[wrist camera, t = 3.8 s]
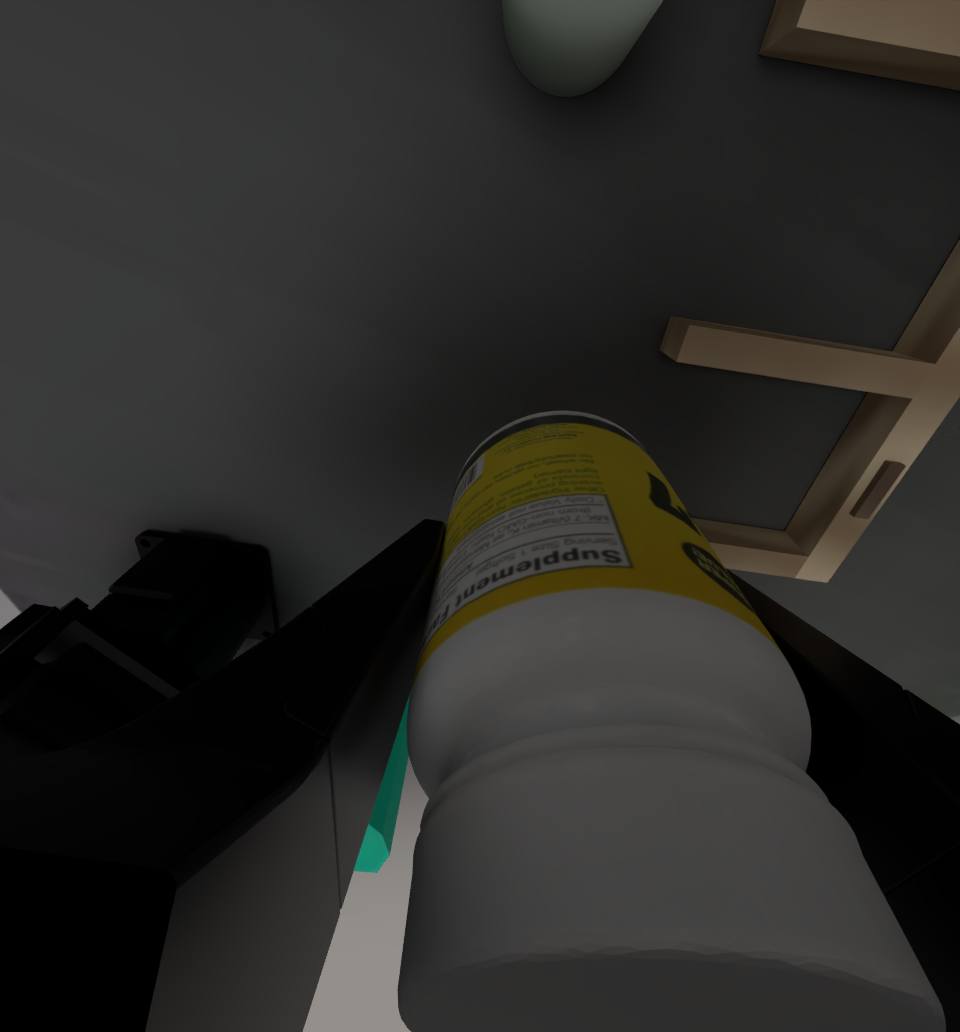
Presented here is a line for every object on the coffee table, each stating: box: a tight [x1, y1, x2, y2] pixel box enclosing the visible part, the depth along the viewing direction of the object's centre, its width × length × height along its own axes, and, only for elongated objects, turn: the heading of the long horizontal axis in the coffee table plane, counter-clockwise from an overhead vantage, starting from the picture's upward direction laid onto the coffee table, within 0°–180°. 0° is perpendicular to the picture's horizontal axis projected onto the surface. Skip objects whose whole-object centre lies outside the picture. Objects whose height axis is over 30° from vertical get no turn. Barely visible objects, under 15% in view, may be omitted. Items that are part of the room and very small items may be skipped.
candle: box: [354, 692, 411, 873], centre depth 22 cm, size 6×6×12 cm
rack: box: [660, 0, 960, 583], centre depth 16 cm, size 18×10×2 cm, turn 172°
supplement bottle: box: [398, 411, 946, 1032], centre depth 7 cm, size 5×5×8 cm
